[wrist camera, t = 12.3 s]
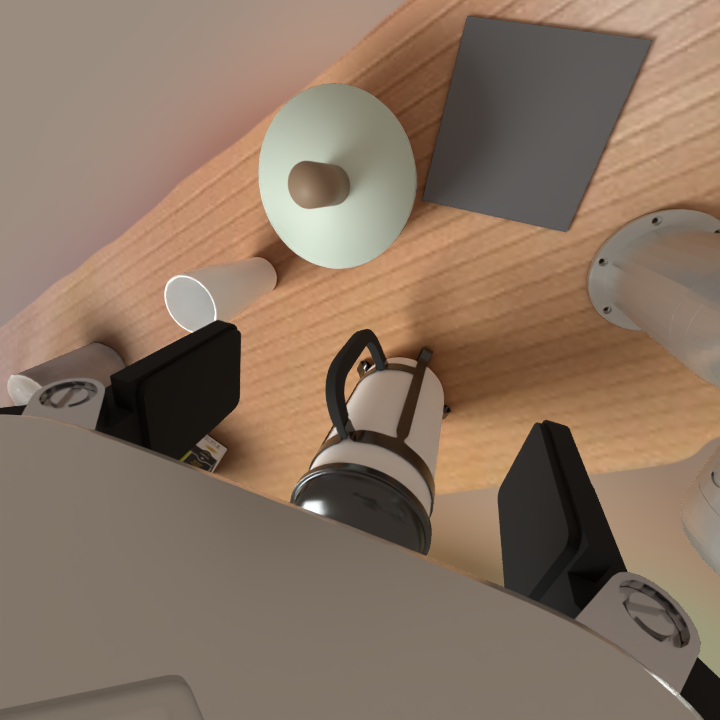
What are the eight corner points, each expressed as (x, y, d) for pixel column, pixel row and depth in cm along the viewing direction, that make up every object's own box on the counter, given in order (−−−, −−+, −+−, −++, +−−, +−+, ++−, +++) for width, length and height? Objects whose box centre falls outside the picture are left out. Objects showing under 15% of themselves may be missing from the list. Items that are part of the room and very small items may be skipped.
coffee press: (483, 373, 48) (496, 592, 22) (418, 444, 56) (372, 665, 30) (376, 304, 48) (263, 443, 22) (327, 385, 56) (202, 556, 30)
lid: (437, 102, 30) (428, 81, 24) (395, 282, 38) (379, 301, 32) (268, 73, 33) (221, 47, 27) (261, 247, 41) (223, 258, 34)
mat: (650, 41, 31) (652, 40, 30) (565, 231, 38) (566, 232, 38) (467, 17, 33) (467, 15, 33) (422, 200, 41) (421, 200, 41)
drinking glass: (267, 307, 53) (201, 346, 40) (233, 275, 52) (154, 304, 39) (291, 274, 50) (227, 305, 37) (255, 240, 49) (177, 259, 36)
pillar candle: (111, 392, 72) (32, 438, 59) (77, 353, 69) (-13, 391, 56) (137, 376, 68) (59, 421, 55) (102, 333, 65) (12, 369, 52)
